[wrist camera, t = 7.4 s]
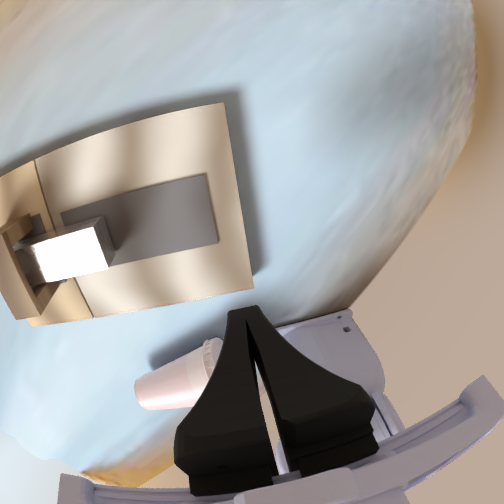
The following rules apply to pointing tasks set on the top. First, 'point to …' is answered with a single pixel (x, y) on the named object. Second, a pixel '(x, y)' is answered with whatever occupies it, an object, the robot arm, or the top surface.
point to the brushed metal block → (66, 251)
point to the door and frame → (132, 218)
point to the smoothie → (179, 379)
